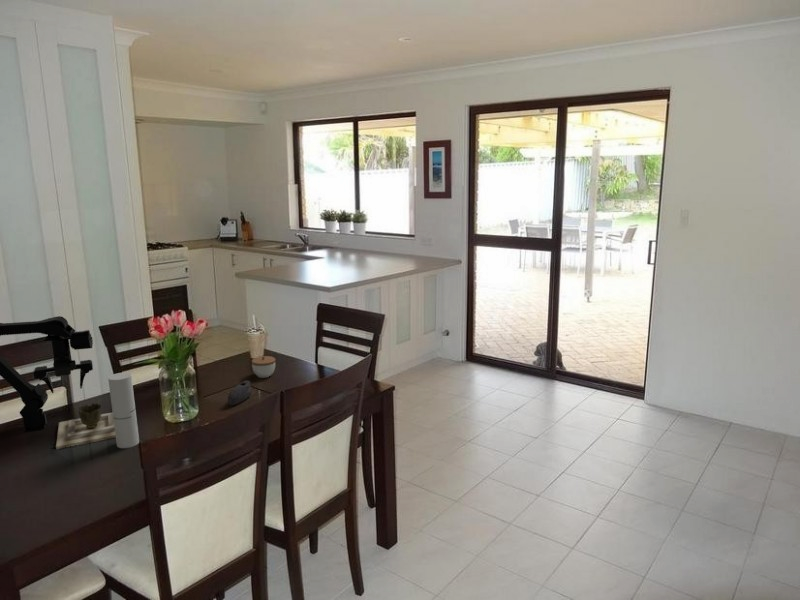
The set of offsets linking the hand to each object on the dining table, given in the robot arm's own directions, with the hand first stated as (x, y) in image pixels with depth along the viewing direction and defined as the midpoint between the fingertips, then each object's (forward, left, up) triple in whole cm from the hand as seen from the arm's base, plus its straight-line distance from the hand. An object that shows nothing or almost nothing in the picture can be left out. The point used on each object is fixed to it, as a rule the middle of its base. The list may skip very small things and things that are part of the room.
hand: (67, 390), depth 212 cm
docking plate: (+7, -11, -13) cm, 18 cm away
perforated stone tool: (+61, -10, -13) cm, 63 cm away
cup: (+7, -11, -12) cm, 18 cm away
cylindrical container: (+18, -29, -13) cm, 37 cm away
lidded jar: (+78, +15, -13) cm, 81 cm away
